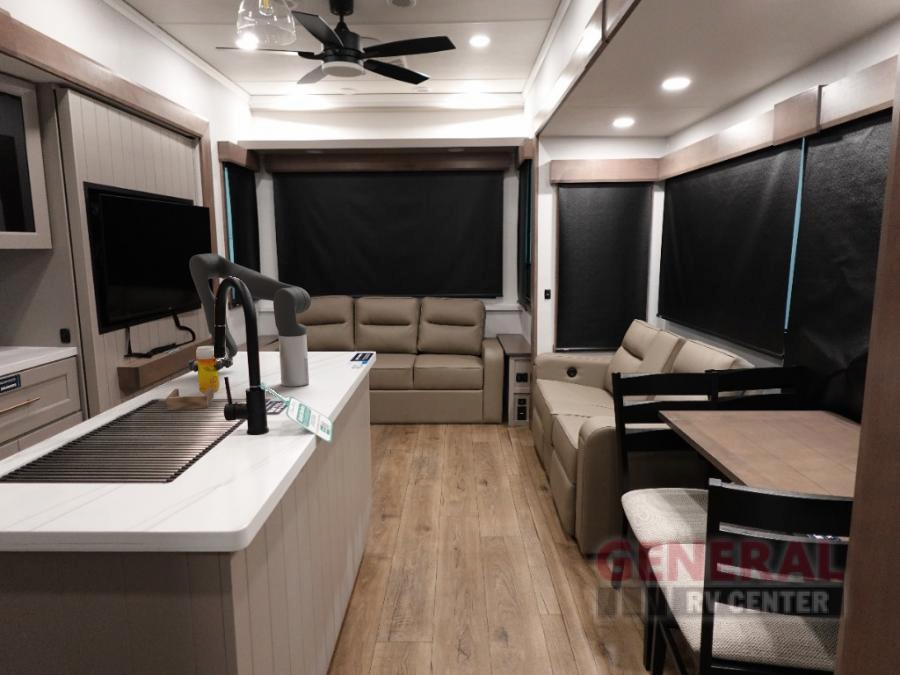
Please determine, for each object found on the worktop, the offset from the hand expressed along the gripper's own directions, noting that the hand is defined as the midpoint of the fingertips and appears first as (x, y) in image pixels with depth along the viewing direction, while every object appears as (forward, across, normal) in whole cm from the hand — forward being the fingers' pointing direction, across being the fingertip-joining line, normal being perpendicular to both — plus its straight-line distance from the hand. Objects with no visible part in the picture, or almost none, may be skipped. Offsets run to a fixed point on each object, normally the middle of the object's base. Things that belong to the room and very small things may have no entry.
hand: (206, 368), depth 176 cm
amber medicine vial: (-2, 0, +9) cm, 9 cm away
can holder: (+11, -3, +8) cm, 14 cm away
